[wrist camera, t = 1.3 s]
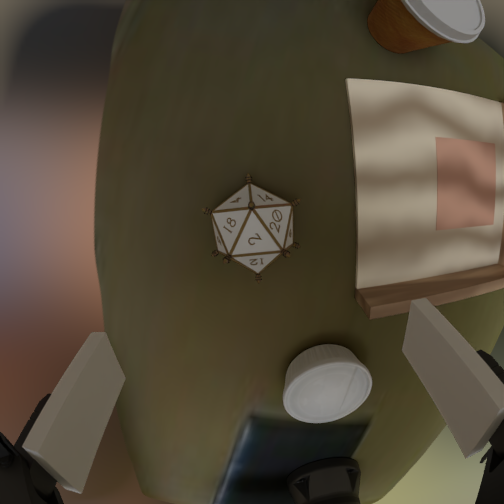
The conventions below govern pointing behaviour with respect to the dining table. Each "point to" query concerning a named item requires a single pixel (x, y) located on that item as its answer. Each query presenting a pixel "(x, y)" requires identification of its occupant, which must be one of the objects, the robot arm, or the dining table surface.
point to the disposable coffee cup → (424, 23)
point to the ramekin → (325, 384)
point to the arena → (425, 194)
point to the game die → (253, 227)
